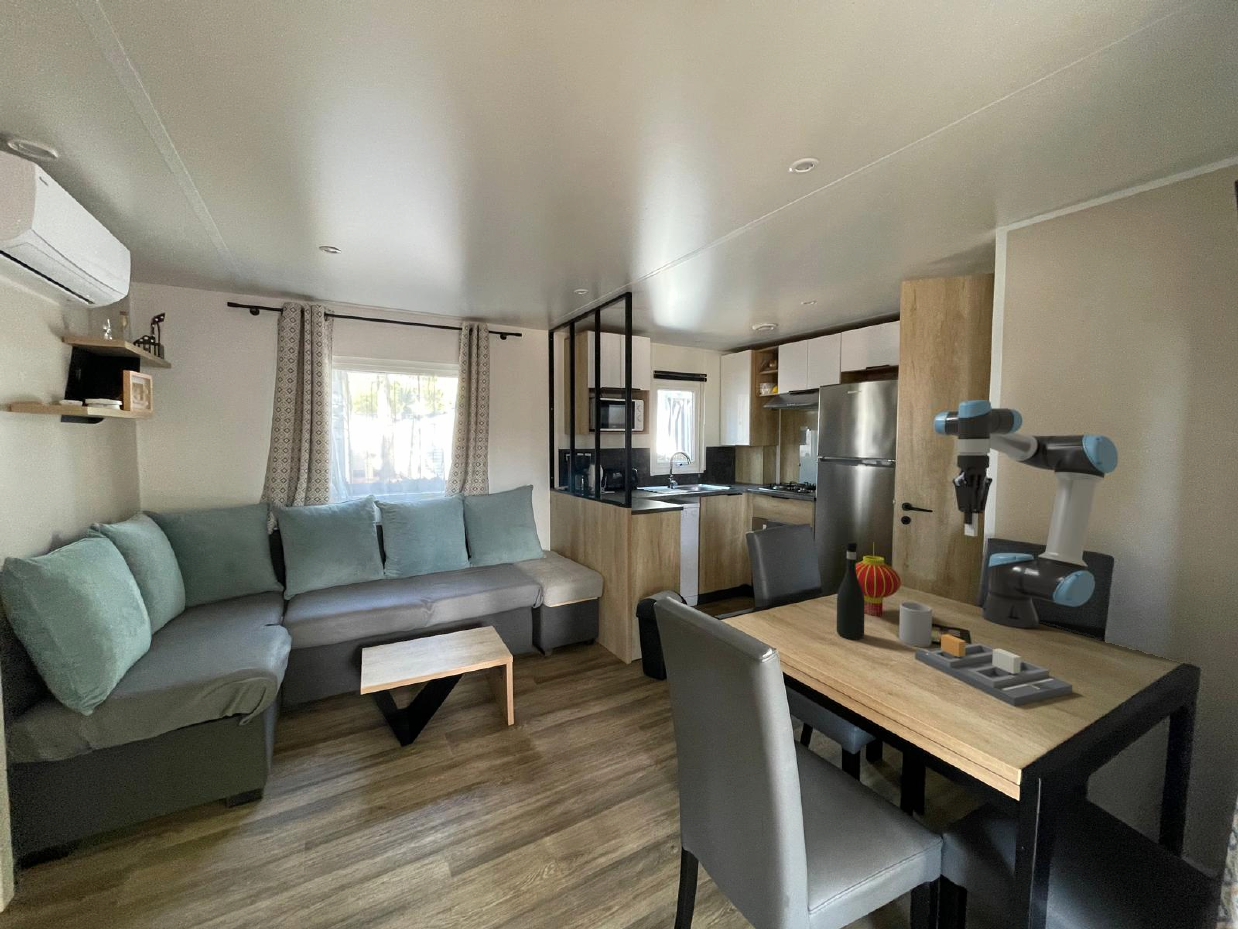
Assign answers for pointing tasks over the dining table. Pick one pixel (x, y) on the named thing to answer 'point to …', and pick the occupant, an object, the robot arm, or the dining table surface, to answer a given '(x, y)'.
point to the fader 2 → (1006, 662)
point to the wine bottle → (850, 600)
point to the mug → (915, 624)
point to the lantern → (876, 581)
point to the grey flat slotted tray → (981, 675)
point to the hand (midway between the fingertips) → (970, 535)
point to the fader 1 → (952, 647)
